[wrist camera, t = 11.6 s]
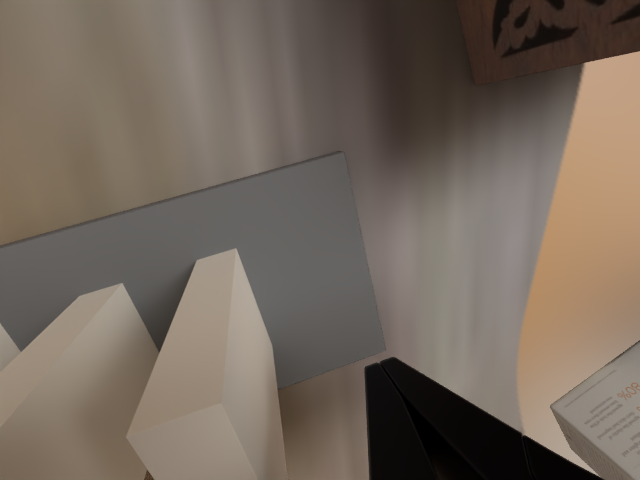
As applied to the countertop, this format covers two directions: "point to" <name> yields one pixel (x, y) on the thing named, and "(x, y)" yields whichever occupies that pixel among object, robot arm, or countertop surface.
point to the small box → (606, 418)
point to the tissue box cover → (545, 34)
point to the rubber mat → (209, 239)
